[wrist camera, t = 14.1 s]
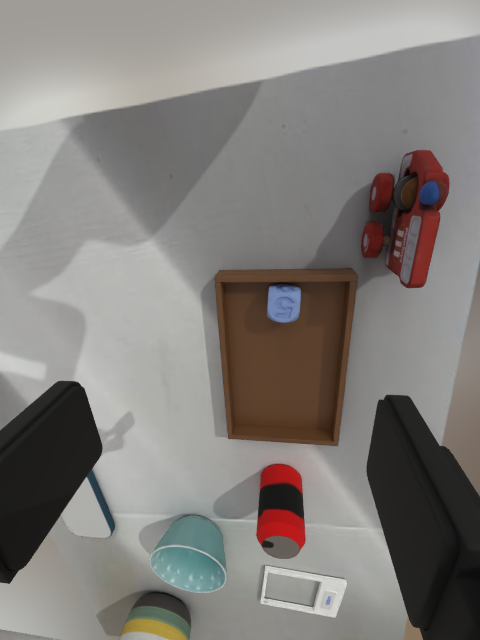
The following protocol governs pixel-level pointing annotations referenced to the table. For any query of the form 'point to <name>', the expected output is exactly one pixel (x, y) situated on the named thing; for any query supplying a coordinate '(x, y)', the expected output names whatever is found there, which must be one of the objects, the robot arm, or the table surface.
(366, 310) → the table surface
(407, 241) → the toy fire truck
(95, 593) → the table surface
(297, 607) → the photo frame
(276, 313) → the decorative dice
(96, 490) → the external hard drive
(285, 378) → the tray
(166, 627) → the vase
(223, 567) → the bowl
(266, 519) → the soda can
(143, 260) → the table surface
